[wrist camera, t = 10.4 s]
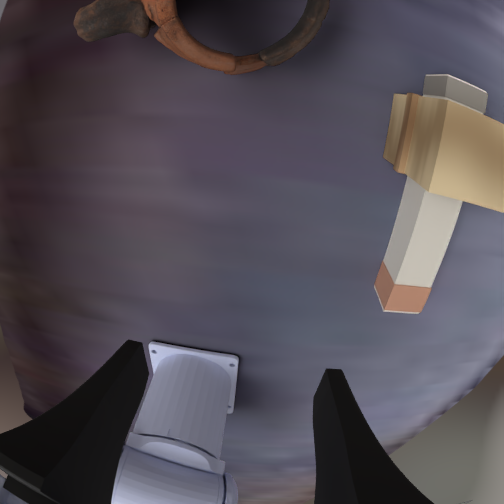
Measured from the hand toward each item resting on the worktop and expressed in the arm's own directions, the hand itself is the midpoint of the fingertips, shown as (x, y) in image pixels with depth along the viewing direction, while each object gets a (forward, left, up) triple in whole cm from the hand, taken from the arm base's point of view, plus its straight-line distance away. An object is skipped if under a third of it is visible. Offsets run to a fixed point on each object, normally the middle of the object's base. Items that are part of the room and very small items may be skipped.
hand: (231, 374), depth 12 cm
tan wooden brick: (+9, -10, -10) cm, 17 cm away
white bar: (+5, -10, -11) cm, 16 cm away
